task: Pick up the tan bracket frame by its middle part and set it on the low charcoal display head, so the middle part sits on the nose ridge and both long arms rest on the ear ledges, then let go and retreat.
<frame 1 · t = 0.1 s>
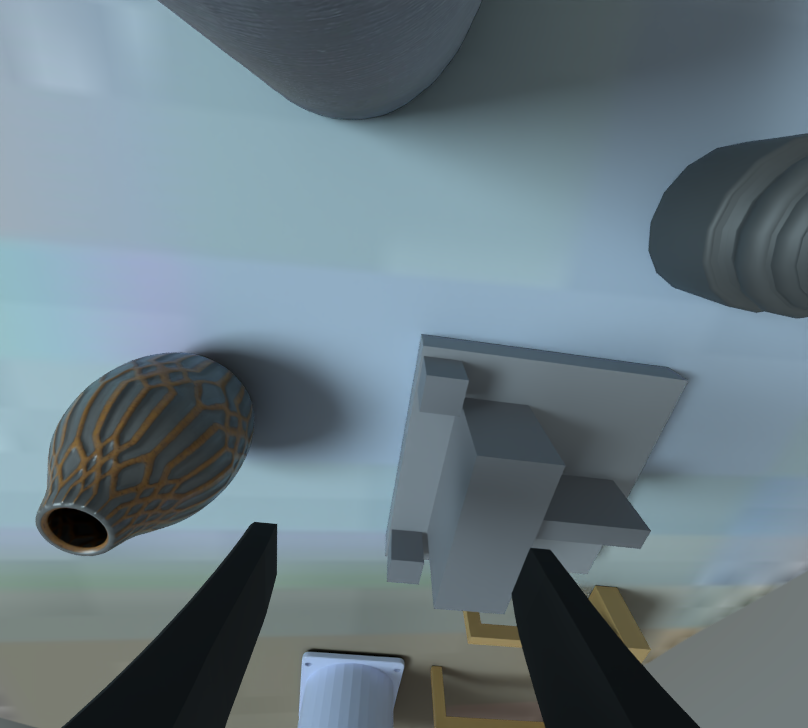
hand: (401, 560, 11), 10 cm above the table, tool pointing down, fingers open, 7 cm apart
tan bracket frame: (577, 636, 29), on the table
candle holder: (716, 222, 17), on the table
display head: (588, 469, 22), on the table
vase: (206, 393, 20), on the table
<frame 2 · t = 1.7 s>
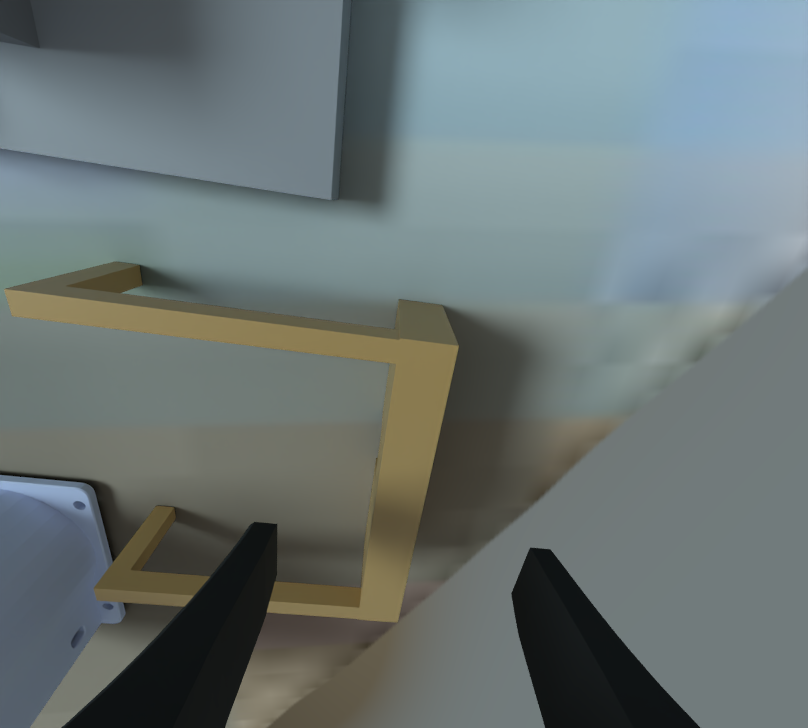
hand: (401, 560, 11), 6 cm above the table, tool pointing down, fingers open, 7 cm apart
tan bracket frame: (397, 437, 16), on the table
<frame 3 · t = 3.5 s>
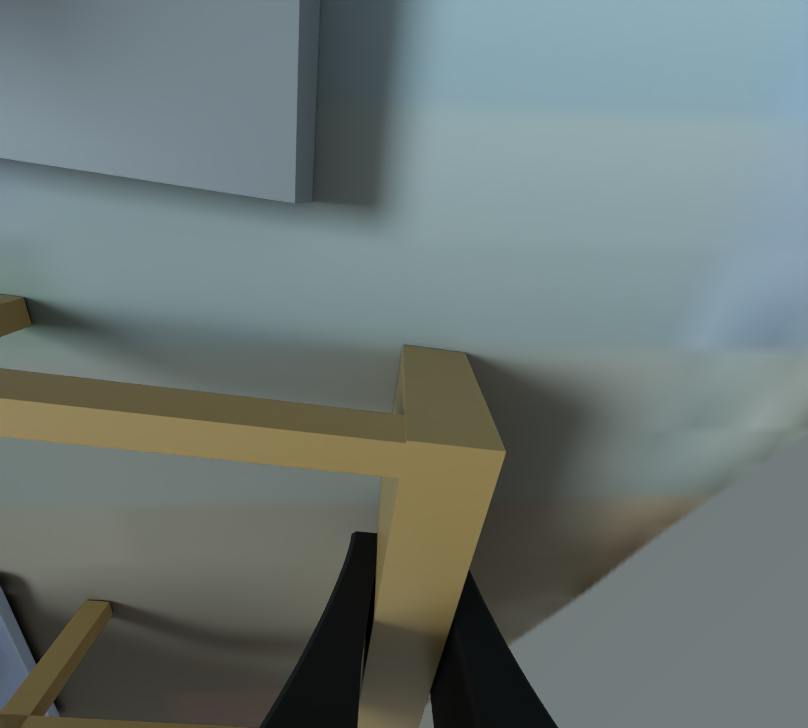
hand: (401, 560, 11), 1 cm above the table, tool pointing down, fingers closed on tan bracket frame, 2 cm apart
tan bracket frame: (401, 521, 12), on the table, touching gripper
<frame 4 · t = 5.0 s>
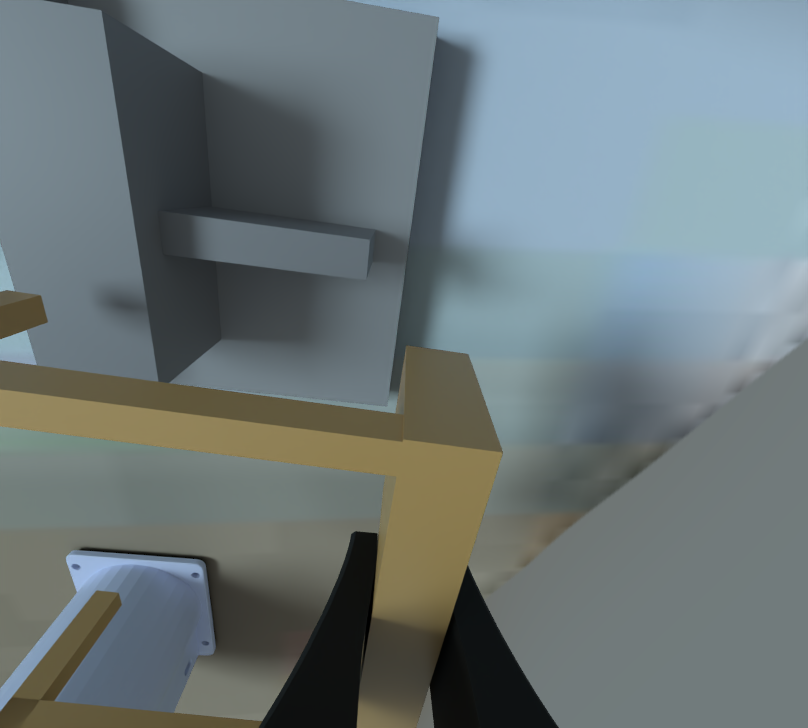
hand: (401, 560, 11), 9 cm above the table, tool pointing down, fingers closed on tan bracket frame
tan bracket frame: (403, 520, 12), point 8 cm above the table, touching gripper
display head: (364, 239, 16), on the table
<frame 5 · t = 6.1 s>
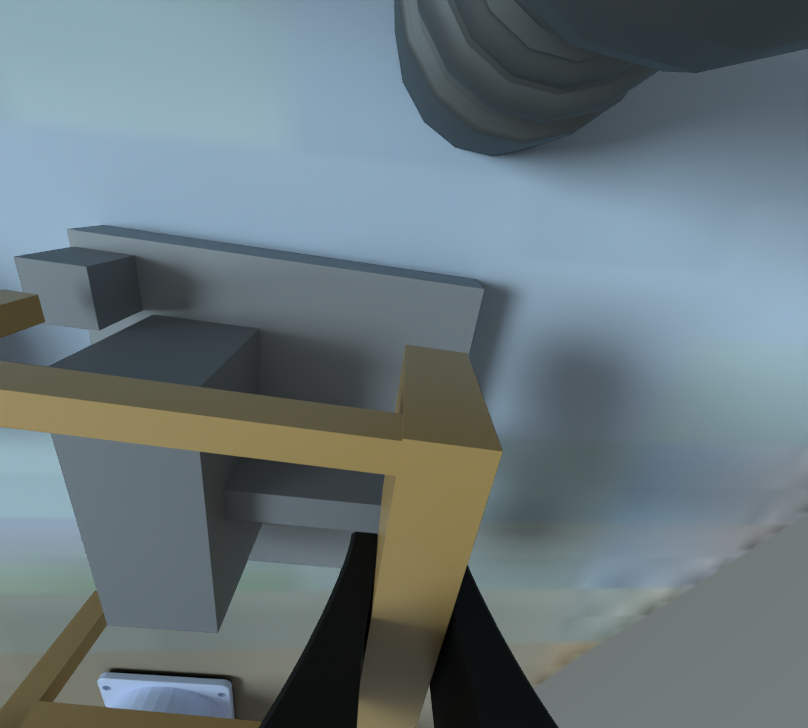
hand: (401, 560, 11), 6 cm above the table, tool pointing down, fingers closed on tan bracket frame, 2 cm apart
tan bracket frame: (402, 520, 12), point 5 cm above the table, touching gripper
candle holder: (501, 35, 11), on the table
display head: (400, 432, 16), on the table
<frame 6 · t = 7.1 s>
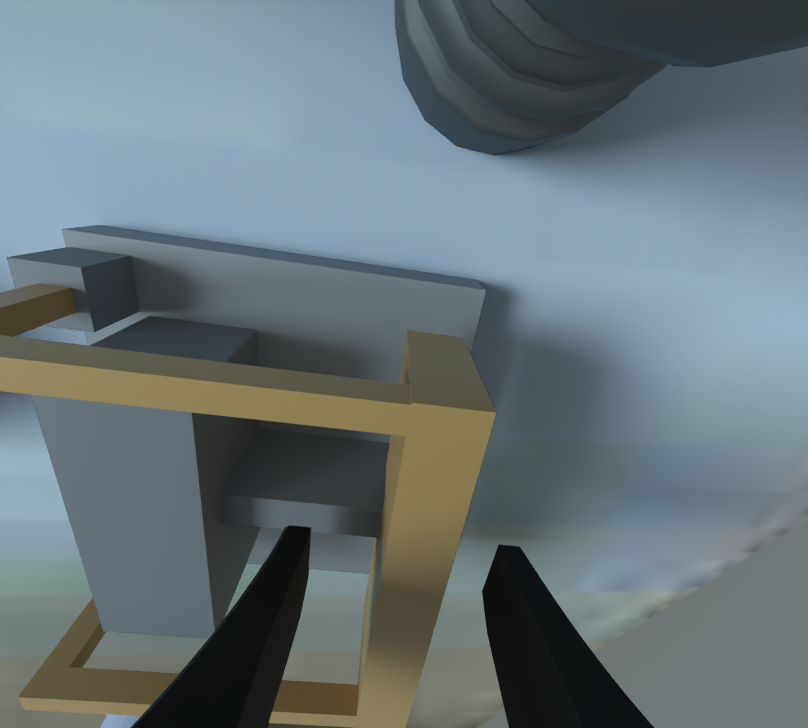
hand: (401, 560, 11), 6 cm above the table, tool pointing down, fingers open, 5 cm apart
tan bracket frame: (404, 494, 13), point 3 cm above the table, touching display head
candle holder: (503, 32, 11), on the table
display head: (400, 434, 16), on the table
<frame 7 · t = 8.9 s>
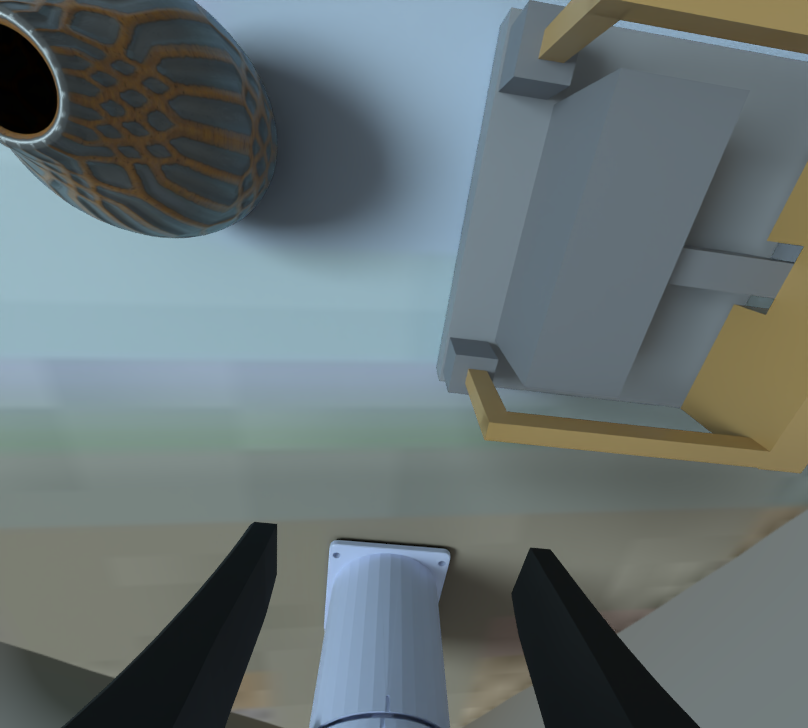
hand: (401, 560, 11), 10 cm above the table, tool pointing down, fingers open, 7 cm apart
tan bracket frame: (769, 276, 14), point 3 cm above the table, touching display head
display head: (699, 259, 17), on the table
vase: (212, 137, 15), on the table
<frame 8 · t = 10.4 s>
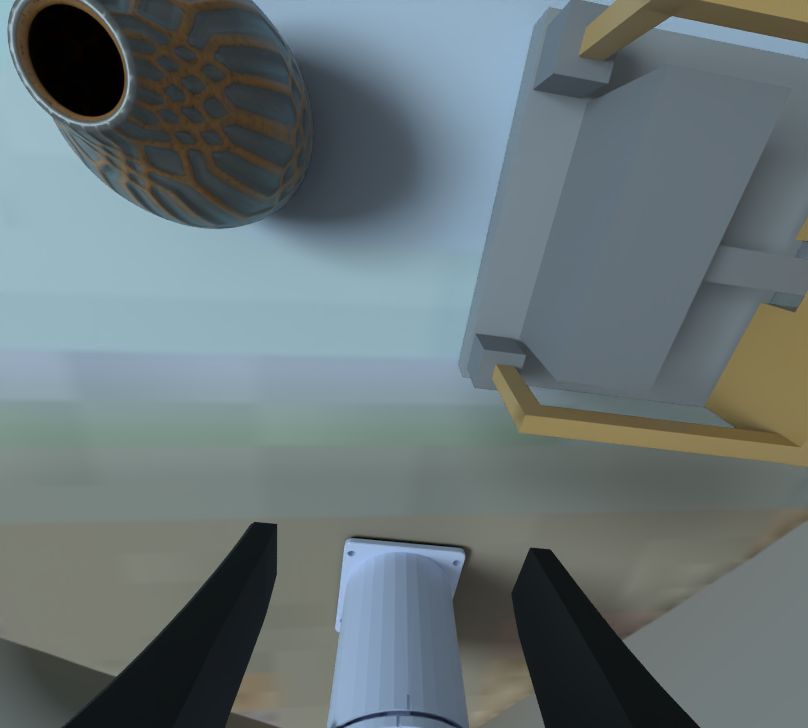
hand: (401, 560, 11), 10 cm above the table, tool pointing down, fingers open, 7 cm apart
tan bracket frame: (796, 275, 14), point 3 cm above the table, touching display head
display head: (721, 260, 18), on the table
vase: (244, 132, 15), on the table
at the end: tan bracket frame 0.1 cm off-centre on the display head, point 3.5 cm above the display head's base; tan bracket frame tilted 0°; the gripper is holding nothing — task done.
